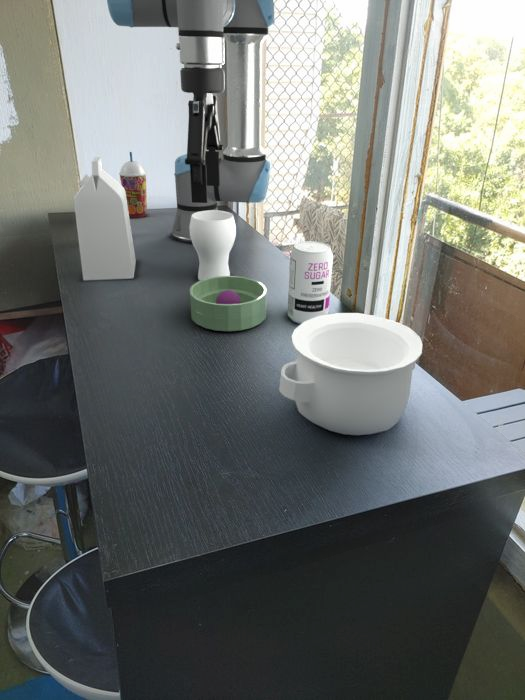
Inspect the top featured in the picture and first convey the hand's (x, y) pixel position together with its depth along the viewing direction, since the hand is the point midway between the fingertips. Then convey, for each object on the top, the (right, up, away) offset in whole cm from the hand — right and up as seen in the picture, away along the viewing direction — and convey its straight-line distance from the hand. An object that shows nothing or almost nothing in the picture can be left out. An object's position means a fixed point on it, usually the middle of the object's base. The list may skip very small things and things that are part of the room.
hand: (206, 193), depth 99 cm
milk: (-27, -10, +29) cm, 41 cm away
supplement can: (+20, -23, +8) cm, 32 cm away
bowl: (+4, -23, +7) cm, 24 cm away
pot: (+23, -39, -21) cm, 50 cm away
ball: (+4, -23, +7) cm, 24 cm away
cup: (-1, -13, +26) cm, 29 cm away
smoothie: (-31, +15, +74) cm, 82 cm away
